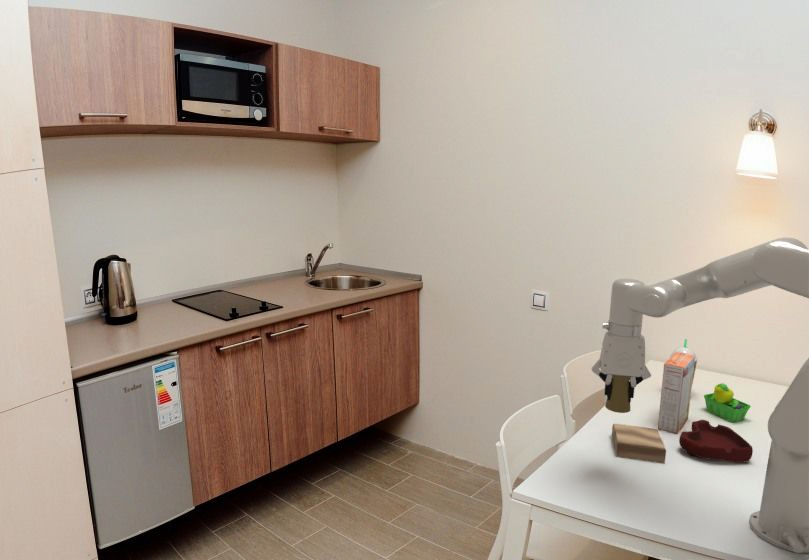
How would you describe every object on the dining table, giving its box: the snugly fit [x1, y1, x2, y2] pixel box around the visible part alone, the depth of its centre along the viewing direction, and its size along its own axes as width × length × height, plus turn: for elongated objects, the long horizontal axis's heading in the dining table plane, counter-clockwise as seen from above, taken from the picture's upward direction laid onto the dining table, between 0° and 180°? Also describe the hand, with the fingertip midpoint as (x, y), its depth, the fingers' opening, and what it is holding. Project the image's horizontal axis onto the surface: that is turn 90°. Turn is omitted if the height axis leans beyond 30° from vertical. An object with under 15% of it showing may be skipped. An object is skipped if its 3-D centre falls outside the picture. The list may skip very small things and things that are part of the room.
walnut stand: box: [611, 423, 667, 464], centre depth 149 cm, size 12×12×4 cm
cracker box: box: [657, 352, 695, 435], centre depth 163 cm, size 14×6×21 cm, turn 141°
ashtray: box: [678, 419, 754, 463], centre depth 148 cm, size 18×16×5 cm
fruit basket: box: [703, 382, 752, 423], centre depth 171 cm, size 11×9×11 cm
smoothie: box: [669, 338, 699, 390], centre depth 185 cm, size 8×8×20 cm
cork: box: [605, 375, 631, 414], centre depth 136 cm, size 6×6×11 cm
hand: (618, 398), depth 137 cm, fingers closed on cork, 4 cm apart
